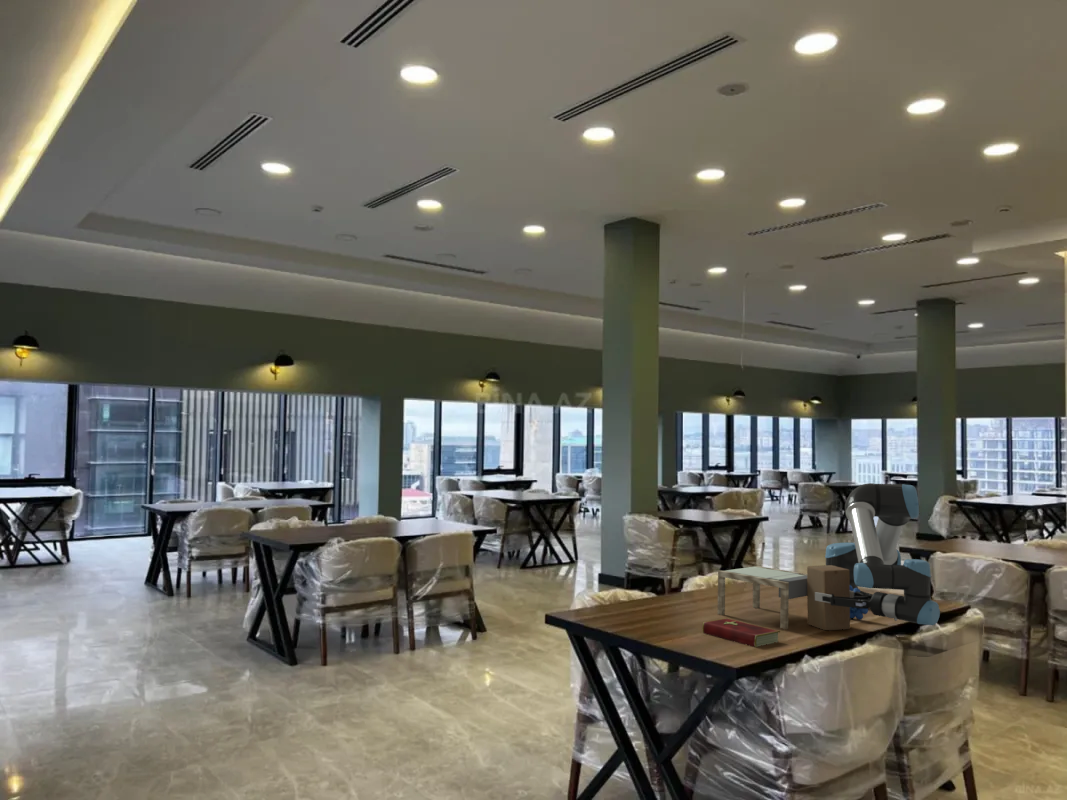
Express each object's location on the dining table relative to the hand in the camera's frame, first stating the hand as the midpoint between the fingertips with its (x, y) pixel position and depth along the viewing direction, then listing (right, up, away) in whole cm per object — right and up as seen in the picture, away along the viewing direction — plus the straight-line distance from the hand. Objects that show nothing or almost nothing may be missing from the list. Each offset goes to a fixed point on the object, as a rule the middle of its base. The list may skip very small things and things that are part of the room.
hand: (825, 594), depth 277 cm
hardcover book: (-34, -10, -19) cm, 40 cm away
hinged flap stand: (-16, -11, +12) cm, 23 cm away
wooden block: (+1, -11, -1) cm, 11 cm away
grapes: (+13, -12, +13) cm, 22 cm away
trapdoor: (-16, -2, +12) cm, 20 cm away
